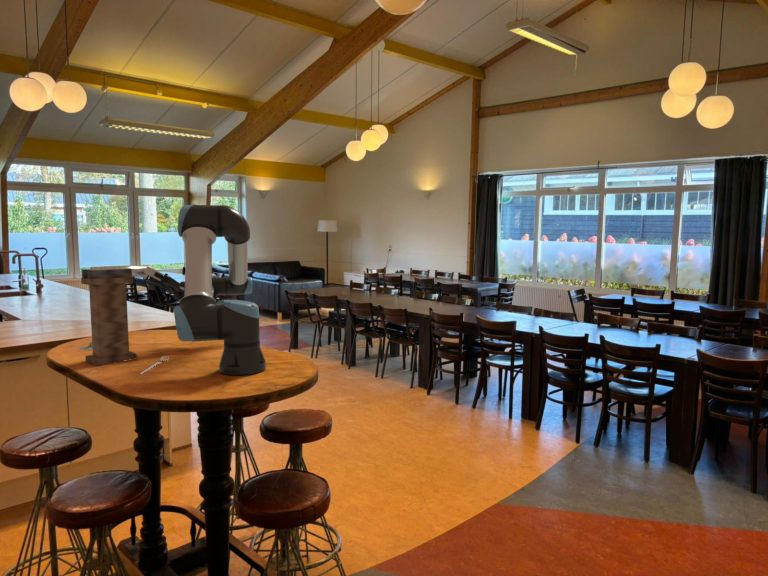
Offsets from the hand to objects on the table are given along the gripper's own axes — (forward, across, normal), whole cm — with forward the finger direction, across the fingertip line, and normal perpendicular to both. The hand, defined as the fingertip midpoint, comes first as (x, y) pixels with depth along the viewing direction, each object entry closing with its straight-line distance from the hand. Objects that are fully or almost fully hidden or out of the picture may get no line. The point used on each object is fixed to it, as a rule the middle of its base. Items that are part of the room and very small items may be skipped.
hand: (138, 268), depth 197 cm
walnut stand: (-7, 0, -34) cm, 34 cm away
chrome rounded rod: (+4, 0, -5) cm, 7 cm away
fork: (-13, -21, -31) cm, 40 cm away
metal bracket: (-13, +25, -31) cm, 42 cm away
